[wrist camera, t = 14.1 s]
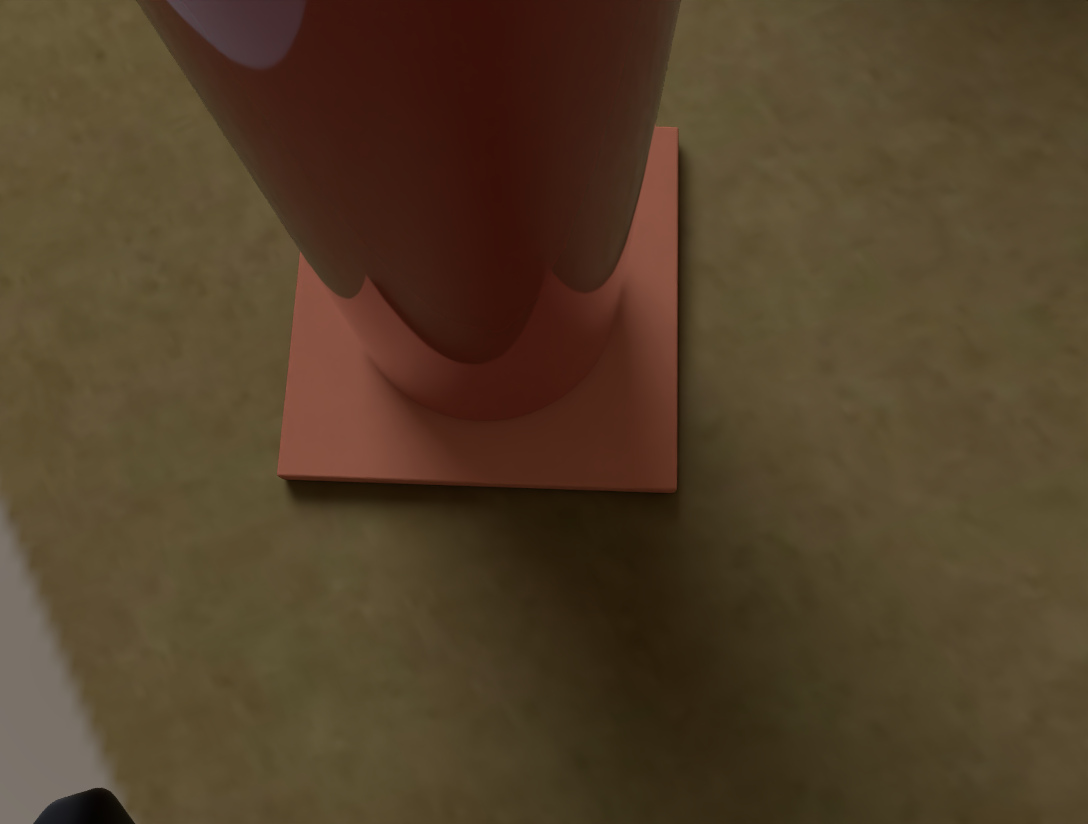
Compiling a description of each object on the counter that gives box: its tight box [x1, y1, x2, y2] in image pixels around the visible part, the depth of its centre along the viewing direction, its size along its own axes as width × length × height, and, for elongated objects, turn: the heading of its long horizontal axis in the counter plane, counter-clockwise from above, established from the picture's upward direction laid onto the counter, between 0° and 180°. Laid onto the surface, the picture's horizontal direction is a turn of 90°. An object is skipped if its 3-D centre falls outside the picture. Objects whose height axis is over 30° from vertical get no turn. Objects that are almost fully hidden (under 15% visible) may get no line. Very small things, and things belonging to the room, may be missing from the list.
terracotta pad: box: [277, 127, 678, 493], centre depth 17 cm, size 7×7×1 cm
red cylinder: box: [136, 0, 681, 421], centre depth 11 cm, size 5×5×12 cm
